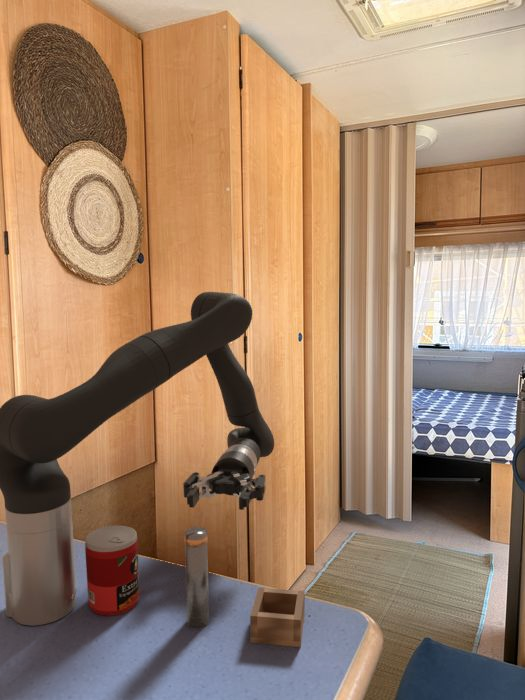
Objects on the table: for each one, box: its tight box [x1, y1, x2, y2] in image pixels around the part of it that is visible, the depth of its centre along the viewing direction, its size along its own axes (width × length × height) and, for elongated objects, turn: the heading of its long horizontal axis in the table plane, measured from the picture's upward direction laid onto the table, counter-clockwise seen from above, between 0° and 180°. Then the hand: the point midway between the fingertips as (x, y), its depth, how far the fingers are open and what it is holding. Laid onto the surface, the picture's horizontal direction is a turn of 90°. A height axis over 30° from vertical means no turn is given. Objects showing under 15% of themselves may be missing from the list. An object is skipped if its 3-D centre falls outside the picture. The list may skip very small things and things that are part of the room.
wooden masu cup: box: [249, 587, 306, 648], centre depth 77 cm, size 7×7×4 cm
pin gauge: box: [184, 526, 210, 629], centre depth 78 cm, size 3×3×14 cm
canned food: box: [84, 525, 140, 617], centre depth 84 cm, size 8×8×11 cm
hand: (216, 503), depth 89 cm, fingers open, 8 cm apart
